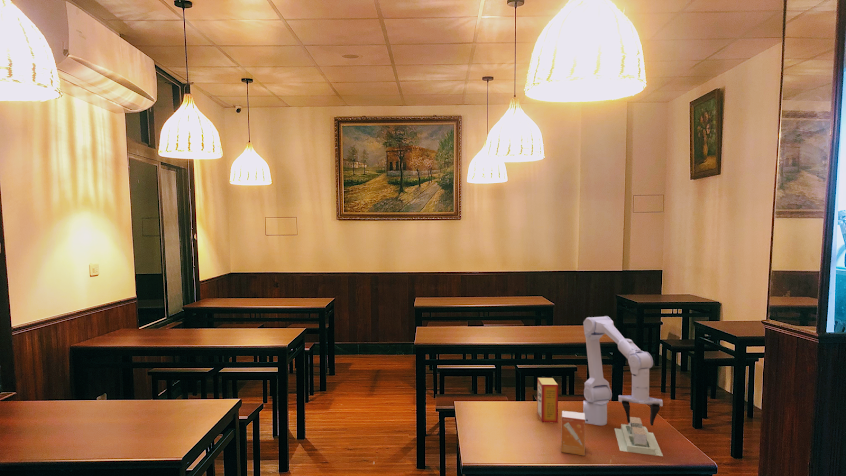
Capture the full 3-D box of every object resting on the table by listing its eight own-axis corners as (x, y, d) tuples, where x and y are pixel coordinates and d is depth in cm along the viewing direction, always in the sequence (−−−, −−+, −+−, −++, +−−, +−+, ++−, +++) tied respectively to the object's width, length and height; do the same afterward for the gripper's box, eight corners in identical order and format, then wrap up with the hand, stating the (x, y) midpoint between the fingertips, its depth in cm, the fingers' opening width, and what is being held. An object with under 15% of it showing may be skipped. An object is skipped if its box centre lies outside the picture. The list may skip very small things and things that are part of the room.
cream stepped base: (619, 452, 168) (619, 445, 168) (614, 430, 187) (614, 423, 187) (663, 458, 164) (663, 450, 164) (652, 434, 183) (653, 427, 183)
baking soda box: (537, 413, 204) (537, 376, 204) (552, 413, 204) (552, 377, 204) (541, 422, 195) (542, 383, 195) (557, 422, 195) (558, 384, 194)
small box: (561, 452, 168) (561, 416, 168) (561, 445, 174) (561, 410, 174) (585, 456, 165) (585, 419, 165) (584, 448, 172) (584, 412, 171)
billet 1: (630, 438, 178) (630, 422, 178) (628, 431, 184) (628, 416, 184) (642, 439, 177) (642, 423, 177) (639, 433, 183) (639, 417, 182)
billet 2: (634, 450, 168) (634, 433, 168) (631, 442, 174) (632, 426, 174) (646, 451, 167) (646, 434, 167) (643, 444, 173) (643, 428, 173)
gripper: (619, 387, 169) (619, 425, 169) (664, 391, 165) (664, 430, 165) (618, 381, 176) (617, 417, 176) (660, 385, 172) (660, 422, 172)
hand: (640, 423), depth 171 cm, fingers open, 7 cm apart
